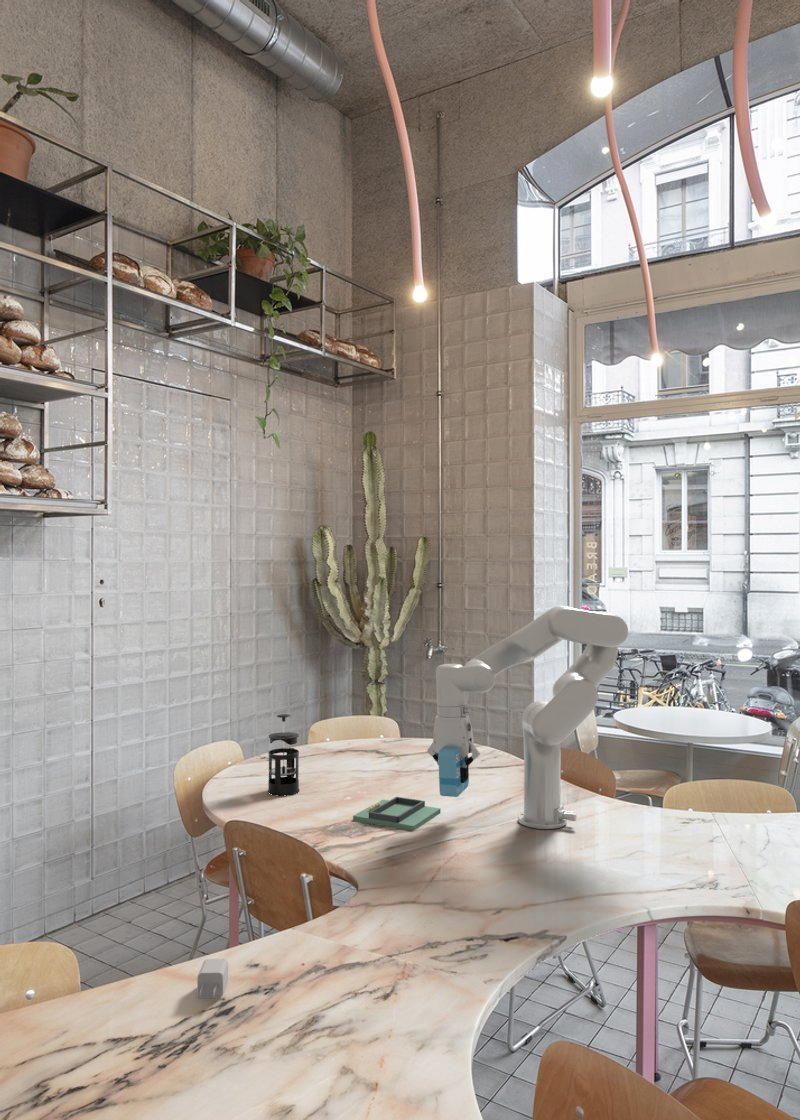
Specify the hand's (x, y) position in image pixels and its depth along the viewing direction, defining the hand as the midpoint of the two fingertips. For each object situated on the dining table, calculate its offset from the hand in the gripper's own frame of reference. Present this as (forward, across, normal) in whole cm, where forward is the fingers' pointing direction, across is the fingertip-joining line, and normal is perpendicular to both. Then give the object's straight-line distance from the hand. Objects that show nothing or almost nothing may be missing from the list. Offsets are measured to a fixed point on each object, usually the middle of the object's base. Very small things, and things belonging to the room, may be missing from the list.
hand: (454, 780), depth 209 cm
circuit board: (+11, +16, +2) cm, 20 cm away
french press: (+10, +57, -3) cm, 58 cm away
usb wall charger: (+10, +1, +94) cm, 95 cm away
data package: (+3, 0, 0) cm, 3 cm away
